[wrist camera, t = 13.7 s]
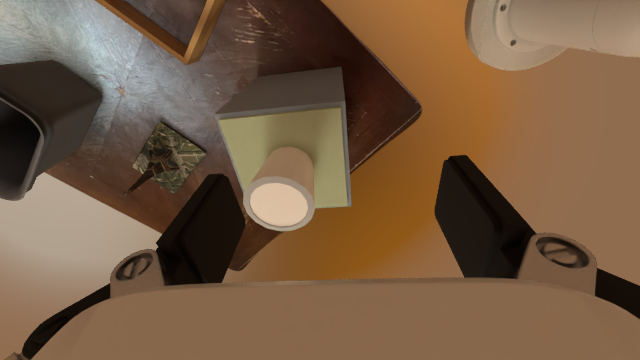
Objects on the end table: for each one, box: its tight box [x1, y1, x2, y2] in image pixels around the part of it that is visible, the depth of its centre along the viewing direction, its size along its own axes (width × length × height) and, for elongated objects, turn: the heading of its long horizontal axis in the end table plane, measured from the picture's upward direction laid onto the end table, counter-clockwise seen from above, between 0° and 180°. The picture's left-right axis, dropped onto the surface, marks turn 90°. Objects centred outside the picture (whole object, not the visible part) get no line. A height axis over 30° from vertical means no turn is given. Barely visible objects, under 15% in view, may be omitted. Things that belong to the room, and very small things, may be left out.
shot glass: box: [243, 146, 315, 231], centre depth 26 cm, size 7×7×7 cm
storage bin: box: [0, 60, 103, 201], centre depth 40 cm, size 21×16×14 cm
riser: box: [214, 67, 352, 208], centre depth 37 cm, size 14×14×18 cm
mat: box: [218, 106, 348, 208], centre depth 29 cm, size 13×13×1 cm
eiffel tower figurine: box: [121, 122, 207, 199], centre depth 46 cm, size 15×10×13 cm
